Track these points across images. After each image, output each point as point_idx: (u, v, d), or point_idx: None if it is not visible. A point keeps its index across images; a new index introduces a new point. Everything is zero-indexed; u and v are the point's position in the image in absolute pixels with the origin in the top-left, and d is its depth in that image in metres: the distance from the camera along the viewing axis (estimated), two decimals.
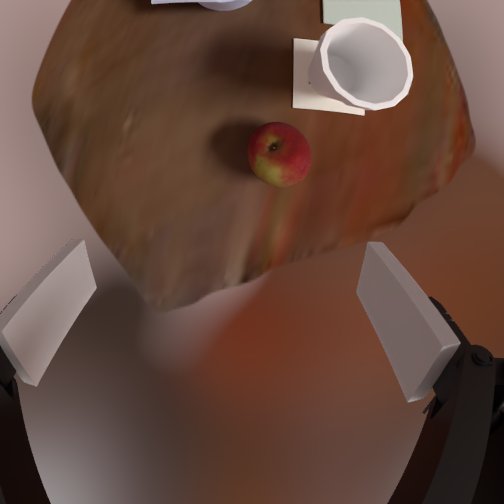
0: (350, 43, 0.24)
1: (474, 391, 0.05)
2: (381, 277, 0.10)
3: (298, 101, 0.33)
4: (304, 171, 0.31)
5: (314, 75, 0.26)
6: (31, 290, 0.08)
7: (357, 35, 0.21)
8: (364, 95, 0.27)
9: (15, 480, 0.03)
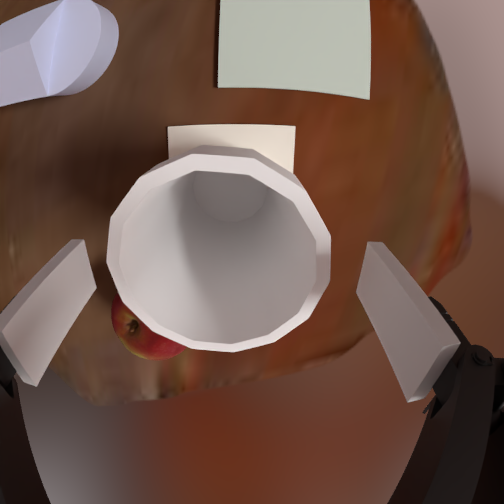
0: None
1: (474, 391, 0.05)
2: (381, 278, 0.10)
3: None
4: (180, 350, 0.23)
5: None
6: (31, 290, 0.08)
7: None
8: (259, 256, 0.18)
9: (15, 480, 0.03)
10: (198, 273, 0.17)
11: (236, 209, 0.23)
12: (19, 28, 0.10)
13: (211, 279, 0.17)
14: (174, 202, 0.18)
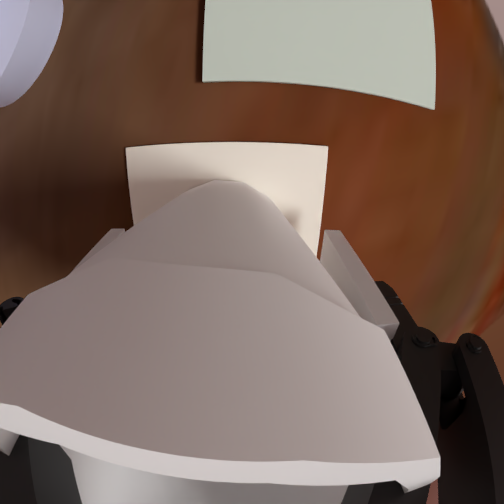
0: None
1: (417, 375, 0.06)
2: (334, 263, 0.11)
3: None
4: None
5: None
6: None
7: None
8: None
9: (49, 479, 0.03)
10: None
11: None
12: None
13: None
14: None
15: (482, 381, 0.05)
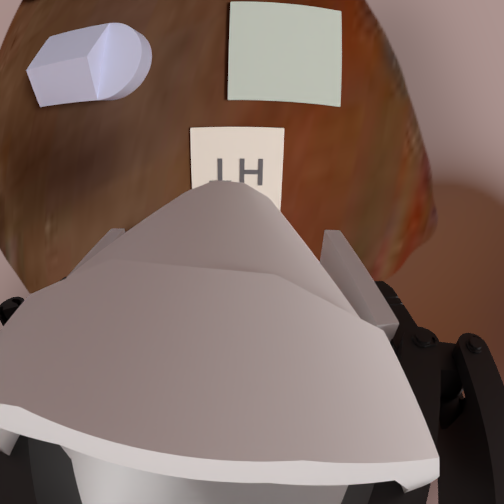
0: None
1: (417, 375, 0.06)
2: (333, 263, 0.11)
3: None
4: None
5: None
6: None
7: None
8: None
9: (49, 479, 0.03)
10: None
11: None
12: (71, 43, 0.18)
13: None
14: None
15: (482, 381, 0.05)
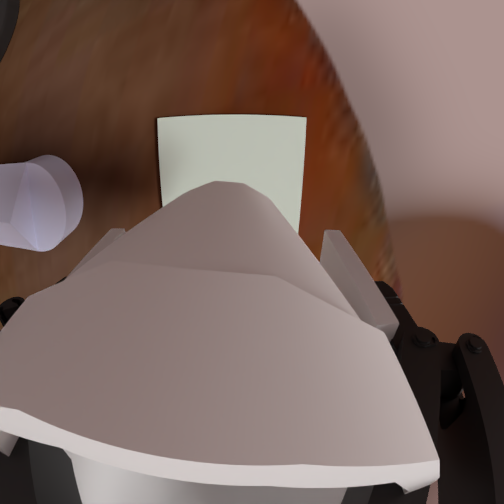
0: None
1: (417, 375, 0.06)
2: (334, 263, 0.11)
3: None
4: None
5: None
6: None
7: None
8: None
9: (50, 479, 0.03)
10: None
11: None
12: None
13: None
14: None
15: (482, 381, 0.05)
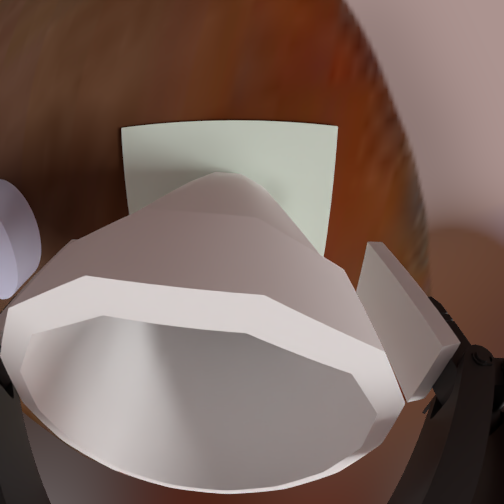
0: None
1: (474, 391, 0.05)
2: (381, 277, 0.10)
3: None
4: None
5: None
6: None
7: None
8: (263, 344, 0.12)
9: (15, 480, 0.03)
10: (176, 370, 0.11)
11: None
12: None
13: (194, 380, 0.11)
14: None
15: None
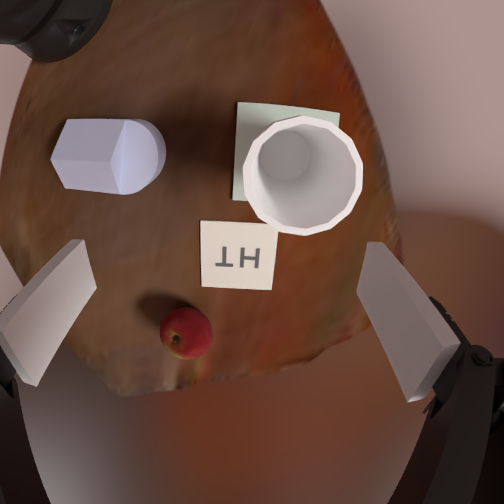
0: (300, 129, 0.25)
1: (474, 391, 0.05)
2: (381, 278, 0.10)
3: (206, 281, 0.40)
4: (202, 353, 0.39)
5: None
6: (31, 290, 0.08)
7: (303, 127, 0.22)
8: (310, 193, 0.28)
9: (15, 480, 0.03)
10: (274, 198, 0.27)
11: (288, 171, 0.33)
12: (91, 138, 0.26)
13: (282, 202, 0.27)
14: (257, 155, 0.27)
15: None
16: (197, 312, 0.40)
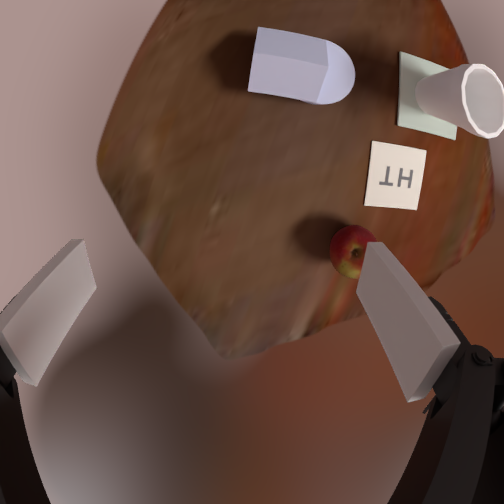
0: None
1: (474, 391, 0.05)
2: (381, 277, 0.10)
3: (369, 200, 0.41)
4: None
5: (436, 99, 0.27)
6: (31, 290, 0.08)
7: (470, 73, 0.22)
8: None
9: (15, 480, 0.03)
10: None
11: None
12: (298, 45, 0.27)
13: None
14: None
15: None
16: None
